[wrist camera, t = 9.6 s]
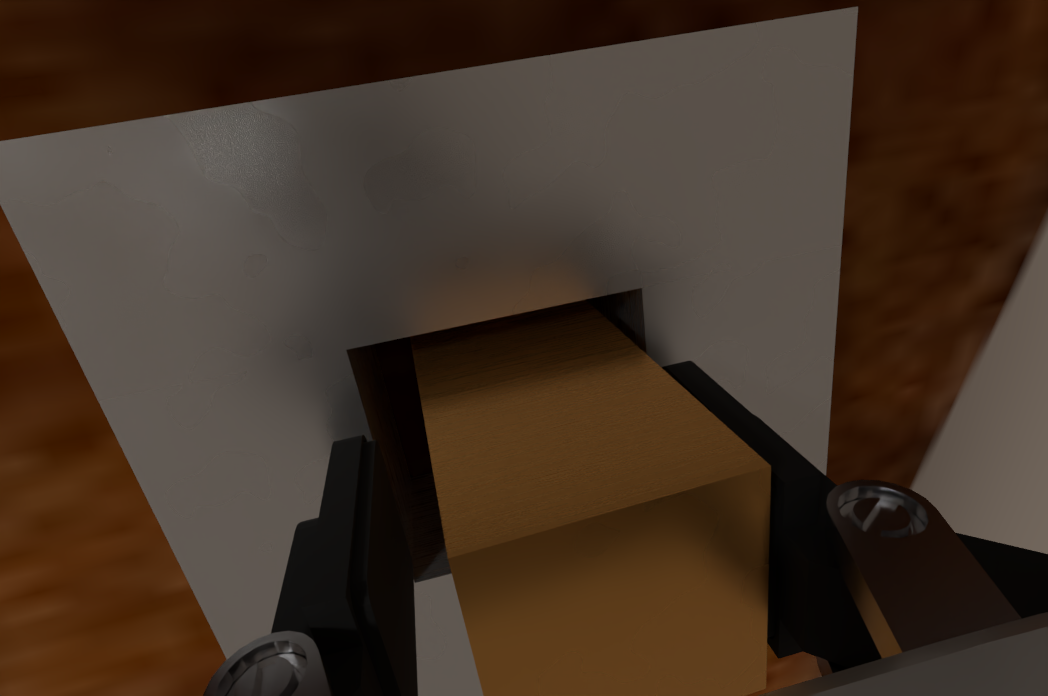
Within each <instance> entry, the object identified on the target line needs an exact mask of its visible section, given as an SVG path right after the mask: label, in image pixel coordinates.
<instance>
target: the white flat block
mask: <svg viewBox="0 0 1048 696" xmlns="http://www.w3.org/2000/svg"><path fill="white" fill-rule="evenodd" d="M857 17H858V7H851V8H845V9H839V10H832V11H826V12H820V13H813V14H807V15H801V16H794V17H788V18H782V19H775V20H769V21H762V22H756V23H750V24H743V25H737V26H731V27H724V28H718V29H712V30H705V31H699V32H693V33H686V34H680V35H673V36H667V37H661V38H654V39H648V40H642V41H635V42H629V43H623V44H616V45H610V46H604V47H597V48H591V49H584V50H578V51H572V52H565V53H559V54H553V55H546V56H540V57H534V58H527V59H521V60H515V61H508V62H502V63H495V64H489V65H483V66H476V67H470V68H464V69H457V70H451V71H445V72H438V73H432V74H426V75H419V76H413V77H406V78H400V79H394V80H387V81H381V82H375V83H368V84H362V85H356V86H349V87H343V88H337V89H330V90H324V91H317V92H311V93H305V94H298V95H292V96H286V97H279V98H273V99H267V100H260V101H254V102H248V103H241V104H235V105H228V106H222V107H216V108H209V109H203V110H197V111H190V112H184V113H178V114H171V115H165V116H159V117H152V118H146V119H139V120H133V121H127V122H120V123H114V124H108V125H101V126H95V127H89V128H82V129H76V130H70V131H63V132H57V133H50V134H44V135H38V136H31V137H25V138H19V139H12V140H6V141H0V205H1V207H2V209H3V211H4V213H5V215H6V217H7V219H8V221H9V223H10V225H11V227H12V229H13V231H14V233H15V235H16V237H17V239H18V241H19V243H20V245H21V247H22V249H23V251H24V253H25V255H26V257H27V259H28V261H29V263H30V265H31V267H32V269H33V271H34V273H35V275H36V277H37V279H38V281H39V283H40V285H41V287H42V289H43V291H44V293H45V295H46V297H47V299H48V301H49V303H50V305H51V307H52V309H53V311H54V313H55V315H56V317H57V319H58V321H59V323H60V325H61V327H62V329H63V331H64V333H65V335H66V337H67V339H68V341H69V343H70V345H71V347H72V349H73V351H74V353H75V355H76V357H77V359H78V361H79V363H80V365H81V367H82V369H83V371H84V373H85V375H86V377H87V379H88V381H89V383H90V385H91V387H92V389H93V391H94V393H95V395H96V397H97V399H98V401H99V404H100V406H101V408H102V410H103V412H104V414H105V416H106V418H107V420H108V422H109V424H110V426H111V428H112V430H113V432H114V434H115V436H116V438H117V440H118V442H119V444H120V446H121V448H122V450H123V452H124V454H125V456H126V458H127V460H128V462H129V464H130V466H131V468H132V470H133V472H134V474H135V476H136V478H137V480H138V482H139V484H140V486H141V488H142V490H143V492H144V494H145V496H146V498H147V500H148V502H149V504H150V506H151V508H152V510H153V512H154V514H155V516H156V518H157V520H158V522H159V524H160V526H161V528H162V530H163V532H164V534H165V536H166V538H167V540H168V542H169V544H170V546H171V548H172V550H173V552H174V554H175V556H176V558H177V560H178V562H179V564H180V566H181V568H182V570H183V572H184V574H185V576H186V578H187V580H188V582H189V584H190V586H191V588H192V590H193V592H194V594H195V596H196V598H197V600H198V602H199V604H200V606H201V608H202V610H203V612H204V614H205V616H206V618H207V620H208V622H209V624H210V626H211V628H212V630H213V632H214V634H215V636H216V638H217V640H218V642H219V644H220V647H221V649H222V651H223V653H224V655H225V657H226V659H228V658H230V657H231V656H232V655H233V654H234V653H235V652H237V651H238V650H239V649H240V648H242V647H244V646H245V645H247V644H249V643H251V642H252V641H254V640H256V639H258V638H261V637H263V636H266V635H269V634H271V630H272V626H273V622H274V618H275V613H276V609H277V605H278V601H279V596H280V592H281V588H282V584H283V580H284V575H285V571H286V567H287V563H288V558H289V554H290V550H291V546H292V541H293V537H294V533H295V529H296V527H297V524H298V523H300V522H302V521H306V520H310V519H314V518H318V517H319V512H320V507H321V501H322V496H323V491H324V485H325V480H326V475H327V469H328V464H329V459H330V453H331V448H332V444H333V442H334V441H338V440H343V439H347V438H351V437H356V436H360V435H364V436H365V437H366V439H367V442H368V441H373V440H377V441H378V443H379V446H380V449H381V453H382V456H383V460H384V463H385V466H386V470H387V473H388V477H389V480H390V484H391V487H392V490H393V494H394V497H395V501H396V504H397V508H398V511H399V515H400V518H401V521H402V525H403V528H404V532H405V535H406V539H407V542H408V546H409V549H410V553H411V557H412V563H413V573H414V600H415V628H416V655H417V682H418V696H483V692H482V688H481V684H480V680H479V676H478V673H477V669H476V665H475V661H474V657H473V653H472V650H471V646H470V642H469V638H468V634H467V630H466V627H465V623H464V619H463V615H462V611H461V607H460V603H459V600H458V596H457V592H456V588H455V584H454V580H453V577H452V573H451V569H450V565H449V561H448V557H447V551H446V545H445V539H444V533H443V527H442V522H441V516H440V510H439V504H438V498H437V492H436V487H435V481H434V475H433V473H430V474H426V475H421V476H417V477H413V478H411V477H410V473H409V469H408V466H407V462H406V458H405V455H404V451H403V447H402V444H401V440H400V436H399V433H398V429H397V425H396V422H395V418H394V414H393V411H392V407H391V403H390V400H389V396H388V392H387V389H386V385H385V381H384V378H383V374H382V370H381V367H380V363H379V359H378V356H377V352H376V348H375V345H374V344H376V343H381V342H386V341H391V340H395V339H400V338H405V337H410V336H414V335H419V334H424V333H429V332H433V331H438V330H443V329H448V328H452V327H457V326H462V325H467V324H472V323H476V322H481V321H486V320H491V319H495V318H500V317H505V316H510V315H514V314H519V313H524V312H529V311H533V310H538V309H543V308H548V307H552V306H557V305H562V304H567V303H572V302H576V301H581V300H586V299H589V303H590V304H591V305H592V306H593V307H594V308H595V309H597V310H598V311H599V312H600V313H601V314H602V315H603V316H604V317H605V318H607V319H608V320H609V321H610V322H611V323H612V324H613V325H614V326H615V327H617V328H618V329H619V330H620V331H621V332H622V333H623V334H624V335H626V336H627V337H628V338H629V339H630V340H631V341H632V342H633V343H634V344H636V345H637V346H638V347H639V348H640V349H641V350H642V351H643V352H644V353H646V354H647V355H648V356H649V357H650V358H651V359H652V360H653V361H655V362H656V363H657V364H658V365H659V366H660V367H661V368H662V367H663V366H667V365H672V364H676V363H681V362H685V361H692V362H694V363H695V364H696V365H697V366H698V367H699V368H701V369H702V370H703V371H704V372H705V373H706V374H707V375H709V376H710V377H711V378H712V379H713V380H714V381H715V382H717V383H718V384H719V385H720V386H721V387H722V388H723V389H725V390H726V391H727V392H728V393H729V394H730V395H731V396H733V397H734V398H735V399H736V400H737V401H738V402H739V403H741V404H742V405H743V406H744V407H745V408H746V409H748V410H749V411H750V412H751V413H752V414H754V415H755V416H757V417H759V418H760V419H761V420H762V421H763V422H764V423H765V424H767V425H768V426H769V427H770V428H771V429H772V430H774V431H775V432H776V433H777V434H778V435H779V436H780V437H782V438H783V439H784V440H785V441H786V442H787V443H789V444H790V445H791V446H792V447H793V448H794V449H795V450H797V451H798V452H799V453H800V454H801V455H802V456H803V457H805V458H806V459H807V460H808V461H809V462H810V463H812V464H813V465H814V466H815V467H816V468H817V469H818V470H820V471H821V472H822V473H823V474H824V475H825V476H826V468H827V454H828V439H829V425H830V410H831V395H832V381H833V366H834V352H835V337H836V323H837V308H838V294H839V279H840V264H841V250H842V235H843V221H844V206H845V192H846V177H847V162H848V148H849V133H850V119H851V104H852V90H853V75H854V61H855V46H856V31H857Z"/></svg>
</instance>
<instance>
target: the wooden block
mask: <svg viewBox="0 0 1048 696" xmlns="http://www.w3.org/2000/svg"><path fill="white" fill-rule="evenodd" d="M410 340H411V346H412V352H413V358H414V364H415V370H416V376H417V381H418V387H419V393H420V399H421V405H422V411H423V416H424V422H425V428H426V434H427V440H428V446H429V451H430V457H431V463H432V469H433V475H434V481H435V487H436V492H437V498H438V504H439V510H440V516H441V522H442V527H443V533H444V539H445V545H446V551H447V557H448V561H449V565H450V569H451V573H452V577H453V580H454V584H455V588H456V592H457V596H458V600H459V603H460V607H461V611H462V615H463V619H464V623H465V627H466V630H467V634H468V638H469V642H470V646H471V650H472V653H473V657H474V661H475V665H476V669H477V673H478V676H479V680H480V684H481V688H482V692H483V696H746V695H748V694H751V693H754V692H757V691H760V690H763V689H766V665H767V622H768V579H769V536H770V493H771V466H770V465H769V464H768V463H767V462H766V461H765V460H764V459H763V458H762V457H760V456H759V455H758V454H757V453H756V452H755V451H754V450H753V449H752V448H750V447H749V446H748V445H747V444H746V443H745V442H744V441H743V440H741V439H740V438H739V437H738V436H737V435H736V434H735V433H734V432H733V431H731V430H730V429H729V428H728V427H727V426H726V425H725V424H724V423H723V422H721V421H720V420H719V419H718V418H717V417H716V416H715V415H714V414H712V413H711V412H710V411H709V410H708V409H707V408H706V407H705V406H704V405H702V404H701V403H700V402H699V401H698V400H697V399H696V398H695V397H694V396H692V395H691V394H690V393H689V392H688V391H687V390H686V389H685V388H684V387H682V386H681V385H680V384H679V383H678V382H677V381H676V380H675V379H673V378H672V377H671V376H670V375H669V374H668V373H667V372H666V371H665V370H663V369H662V368H661V367H660V366H659V365H658V364H657V363H656V362H655V361H653V360H652V359H651V358H650V357H649V356H648V355H647V354H646V353H644V352H643V351H642V350H641V349H640V348H639V347H638V346H637V345H636V344H634V343H633V342H632V341H631V340H630V339H629V338H628V337H627V336H626V335H624V334H623V333H622V332H621V331H620V330H619V329H618V328H617V327H615V326H614V325H613V324H612V323H611V322H610V321H609V320H608V319H607V318H605V317H604V316H603V315H602V314H601V313H600V312H599V311H598V310H597V309H595V308H594V307H593V306H592V305H591V304H590V303H589V302H588V301H586V300H581V301H576V302H572V303H567V304H562V305H557V306H552V307H548V308H543V309H538V310H533V311H529V312H524V313H519V314H514V315H510V316H505V317H500V318H495V319H491V320H486V321H481V322H476V323H472V324H467V325H462V326H457V327H452V328H448V329H443V330H438V331H433V332H429V333H424V334H419V335H414V336H410Z"/></svg>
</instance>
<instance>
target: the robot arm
mask: <svg viewBox="0 0 1048 696" xmlns="http://www.w3.org/2000/svg"><path fill="white" fill-rule="evenodd" d="M662 369H663V370H665V371H666V372H667V373H668V374H669V375H670V376H671V377H672V378H673V379H675V380H676V381H677V382H678V383H679V384H680V385H681V386H682V387H684V388H685V389H686V390H687V391H688V392H689V393H690V394H691V395H692V396H694V397H695V398H696V399H697V400H698V401H699V402H700V403H701V404H702V405H704V406H705V407H706V408H707V409H708V410H709V411H710V412H711V413H712V414H714V415H715V416H716V417H717V418H718V419H719V420H720V421H721V422H723V423H724V424H725V425H726V426H727V427H728V428H729V429H730V430H731V431H733V432H734V433H735V434H736V435H737V436H738V437H739V438H740V439H741V440H743V441H744V442H745V443H746V444H747V445H748V446H749V447H750V448H752V449H753V450H754V451H755V452H756V453H757V454H758V455H759V456H760V457H762V458H763V459H764V460H765V461H766V462H767V463H768V464H769V465H770V466H771V493H770V536H769V579H768V622H767V643H768V644H769V646H770V647H771V649H772V650H773V651H774V653H775V654H776V656H777V657H778V659H779V658H782V657H786V656H789V655H792V654H796V653H799V652H802V651H803V652H806V653H809V654H811V655H814V656H816V659H817V664H818V667H819V670H820V673H821V675H822V677H819V678H815V679H812V680H809V681H805V682H802V683H799V684H795V685H792V686H789V687H785V688H782V689H778V690H775V691H772V692H769V693H765V694H762V695H759V696H1048V554H1044V553H1040V552H1036V551H1032V550H1027V549H1023V548H1019V547H1014V546H1010V545H1006V544H1002V543H997V542H993V541H989V540H984V539H980V538H976V537H971V536H967V535H963V534H959V533H955V532H954V531H953V530H952V528H951V527H950V526H949V524H948V523H947V522H946V520H945V519H944V518H943V517H942V515H941V514H940V513H939V511H938V510H937V509H936V508H935V507H934V506H933V505H932V504H931V503H930V502H929V501H928V500H927V499H926V498H924V497H923V496H921V495H919V494H918V493H916V492H914V491H912V490H910V489H908V488H905V487H902V486H900V485H897V484H894V483H889V482H884V481H879V480H857V481H850V482H846V483H844V484H841V485H839V486H837V485H836V484H835V483H833V482H832V481H831V480H830V479H829V478H828V477H827V476H825V475H824V474H823V473H822V472H821V471H820V470H818V469H817V468H816V467H815V466H814V465H813V464H812V463H810V462H809V461H808V460H807V459H806V458H805V457H803V456H802V455H801V454H800V453H799V452H798V451H797V450H795V449H794V448H793V447H792V446H791V445H790V444H789V443H787V442H786V441H785V440H784V439H783V438H782V437H780V436H779V435H778V434H777V433H776V432H775V431H774V430H772V429H771V428H770V427H769V426H768V425H767V424H765V423H764V422H763V421H762V420H761V419H760V418H759V417H757V416H755V415H754V414H752V413H751V412H750V411H749V410H748V409H746V408H745V407H744V406H743V405H742V404H741V403H739V402H738V401H737V400H736V399H735V398H734V397H733V396H731V395H730V394H729V393H728V392H727V391H726V390H725V389H723V388H722V387H721V386H720V385H719V384H718V383H717V382H715V381H714V380H713V379H712V378H711V377H710V376H709V375H707V374H706V373H705V372H704V371H703V370H702V369H701V368H699V367H698V366H697V365H696V364H695V363H694V362H692V361H685V362H681V363H676V364H672V365H667V366H663V367H662ZM203 696H418V682H417V655H416V628H415V600H414V573H413V563H412V557H411V553H410V549H409V546H408V542H407V539H406V535H405V532H404V528H403V525H402V521H401V518H400V515H399V511H398V508H397V504H396V501H395V497H394V494H393V490H392V487H391V484H390V480H389V477H388V473H387V470H386V466H385V463H384V460H383V456H382V453H381V449H380V446H379V443H378V441H377V440H373V441H368V442H367V439H366V437H365V436H364V435H360V436H356V437H351V438H347V439H343V440H338V441H334V442H333V444H332V448H331V453H330V459H329V464H328V469H327V475H326V480H325V485H324V491H323V496H322V501H321V507H320V512H319V517H318V518H314V519H310V520H306V521H302V522H300V523H298V524H297V527H296V529H295V533H294V537H293V541H292V546H291V550H290V554H289V558H288V563H287V567H286V571H285V575H284V580H283V584H282V588H281V592H280V596H279V601H278V605H277V609H276V613H275V618H274V622H273V626H272V630H271V634H269V635H266V636H263V637H261V638H258V639H256V640H254V641H252V642H251V643H249V644H247V645H245V646H244V647H242V648H240V649H239V650H238V651H237V652H235V653H234V654H233V655H232V656H231V657H230V658H228V659H227V660H226V661H225V662H224V663H223V664H222V665H221V667H220V668H219V669H218V670H217V672H216V673H215V674H214V675H213V677H212V678H211V680H210V682H209V684H208V686H207V688H206V690H205V692H204V694H203Z"/></svg>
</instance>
